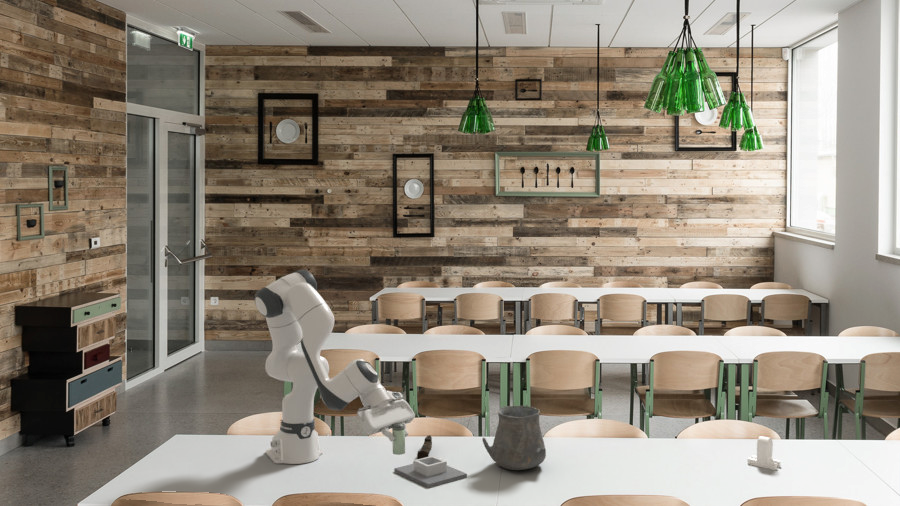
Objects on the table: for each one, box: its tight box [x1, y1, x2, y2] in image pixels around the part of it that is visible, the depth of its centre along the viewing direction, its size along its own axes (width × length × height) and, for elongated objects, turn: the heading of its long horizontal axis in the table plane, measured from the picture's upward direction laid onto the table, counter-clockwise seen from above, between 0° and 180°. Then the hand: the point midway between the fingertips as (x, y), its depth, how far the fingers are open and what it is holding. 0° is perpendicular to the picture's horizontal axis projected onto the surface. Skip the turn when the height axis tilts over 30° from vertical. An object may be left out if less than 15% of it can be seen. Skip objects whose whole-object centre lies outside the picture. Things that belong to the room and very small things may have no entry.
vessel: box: [482, 405, 547, 471], centre depth 286 cm, size 22×22×20 cm
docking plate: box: [393, 455, 468, 489], centre depth 277 cm, size 20×16×5 cm
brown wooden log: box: [416, 434, 433, 460], centre depth 301 cm, size 19×4×5 cm, turn 171°
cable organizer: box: [747, 435, 781, 471], centre depth 285 cm, size 5×10×10 cm, turn 47°
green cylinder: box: [391, 423, 406, 456], centre depth 262 cm, size 4×4×9 cm
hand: (400, 438), depth 261 cm, fingers closed on green cylinder, 4 cm apart
